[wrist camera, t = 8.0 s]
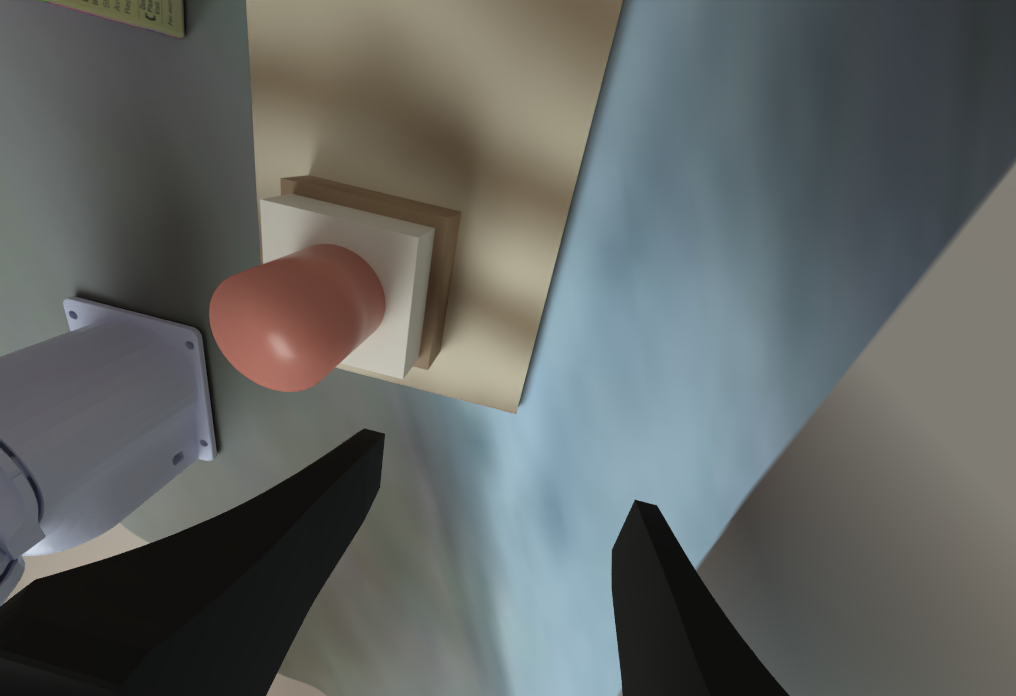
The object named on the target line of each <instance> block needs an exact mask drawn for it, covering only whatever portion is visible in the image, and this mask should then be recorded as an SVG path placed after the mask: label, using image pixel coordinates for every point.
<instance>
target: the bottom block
mask: <svg viewBox="0 0 1016 696" xmlns="http://www.w3.org/2000/svg"><path fill="white" fill-rule="evenodd" d="M280 180H281V196H282V195H288V194H295V195H299V196H304V197H308V198H312V199H316V200H320V201H324V202H328V203H333V204H337V205H341V206H345V207H349V208H353V209H358V210H362V211H366V212H370V213H374V214H378V215H382V216H387V217H391V218H395V219H399V220H403V221H407V222H411V223H416V224H420V225H424V226H428V227H432V228H435V234H434V242H433V250H432V258H431V266H430V273H429V281H428V289H427V297H426V305H425V313H424V321H423V329H422V337H421V345H420V353H419V359H418V360H417V361H416V363H415V364H414V365H413V367H417V368H421V369H425V370H428V369H429V368H430V366H431V365H432V363H433V362H434V360H435V359H436V357H437V356H438V355H439V353H440V350H441V343H442V337H443V330H444V324H445V317H446V310H447V304H448V297H449V290H450V284H451V277H452V270H453V264H454V257H455V251H456V244H457V237H458V231H459V224H460V217H461V211H457V210H452V209H448V208H444V207H440V206H436V205H431V204H427V203H423V202H419V201H415V200H410V199H406V198H402V197H398V196H394V195H389V194H385V193H381V192H377V191H373V190H369V189H364V188H360V187H356V186H352V185H348V184H343V183H339V182H335V181H331V180H327V179H322V178H318V177H314V176H310V175H305V176H295V177H286V178H280Z"/></svg>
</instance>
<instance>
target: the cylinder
mask: <svg viewBox="0 0 1016 696" xmlns="http://www.w3.org/2000/svg"><path fill="white" fill-rule="evenodd" d="M384 312H385V295H384V291H383V288H382V285H381V282H380V280H379V278H378V276H377V275H376V273H375V272H374V270H373V269H372V268H371V266H370V265H369V264H368V263H367V262H366V261H365V260H364V259H363V258H361V257H360V256H359V255H358V254H356V253H354V252H353V251H351V250H349V249H347V248H344V247H341V246H338V245H333V244H318V245H314V246H311V247H308V248H305V249H302V250H300V251H297V252H294V253H292V254H289V255H286V256H284V257H281V258H278V259H275V260H273V261H270V262H267V263H265V264H262V265H259V266H256V267H254V268H251V269H248V270H246V271H243V272H240V273H237V274H235V275H233V276H230V277H229V278H227V279H225V280H224V281H223V282H222V283H221V284H220V285H219V286H218V287H217V289H216V290H215V292H214V294H213V296H212V299H211V302H210V309H209V319H210V325H211V329H212V333H213V336H214V338H215V340H216V343H217V344H218V346H219V348H220V350H221V351H222V353H223V354H224V356H225V357H226V358H227V359H228V361H229V362H230V363H231V364H232V365H233V366H234V367H235V368H236V369H237V370H238V371H239V372H241V373H242V374H243V375H244V376H246V377H247V378H249V379H250V380H252V381H254V382H255V383H257V384H259V385H262V386H264V387H266V388H269V389H273V390H277V391H284V392H296V391H302V390H305V389H308V388H310V387H312V386H314V385H316V384H317V383H318V382H320V381H321V380H322V379H323V378H324V377H325V376H326V375H327V374H328V373H329V372H331V371H332V370H333V369H334V368H335V367H336V366H337V365H338V364H339V363H341V362H342V361H343V360H344V359H345V358H346V357H347V356H348V355H349V354H350V353H352V352H353V351H354V350H355V349H356V348H357V347H358V346H359V345H360V344H362V343H363V342H364V341H365V340H366V339H367V338H368V337H369V336H370V335H371V334H373V333H374V332H375V331H376V330H377V328H378V327H379V325H380V323H381V322H382V319H383V316H384Z"/></svg>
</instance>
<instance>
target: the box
mask: <svg viewBox="0 0 1016 696" xmlns="http://www.w3.org/2000/svg"><path fill="white" fill-rule="evenodd" d="M39 1H43V2H47V3H51V4H54V5H58V6H61V7H65V8H68V9H72V10H76V11H79V12H83V13H87V14H90V15H94V16H98V17H101V18H105V19H109V20H112V21H116V22H120V23H123V24H127V25H131V26H135V27H138V28H142V29H146V30H149V31H153V32H157V33H160V34H164V35H168V36H171V37H175V38H179V39H182V38H184V36H185V32H184V3H183V0H39Z"/></svg>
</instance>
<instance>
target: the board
mask: <svg viewBox="0 0 1016 696" xmlns="http://www.w3.org/2000/svg"><path fill="white" fill-rule="evenodd" d="M622 3H623V0H246V7H247V25H248V43H249V62H250V80H251V98H252V116H253V134H254V153H255V171H256V189H257V207H258V225H259V244H260V262H261V265H262V264H263V251H262V232H261V213H260V199H264V198H270V197H276V196H281V180H280V178H286V177H295V176H305V175H310V176H314V177H318V178H322V179H327V180H331V181H335V182H339V183H343V184H348V185H352V186H356V187H360V188H364V189H369V190H373V191H377V192H381V193H385V194H389V195H394V196H398V197H402V198H406V199H410V200H415V201H419V202H423V203H427V204H431V205H436V206H440V207H444V208H448V209H452V210H457V211H461V217H460V224H459V231H458V237H457V244H456V251H455V257H454V264H453V270H452V277H451V284H450V290H449V297H448V304H447V310H446V317H445V324H444V330H443V337H442V343H441V350H440V353H439V355H438V356H437V357H436V359H435V360H434V362H433V363H432V365H431V366H430V368H429V369H428V370H425V369H421V368H417V367H412V368H411V369H410V371H409V372H408V373H407V375H406V376H405V377H404V379H400V378H396V377H392V376H388V375H384V374H380V373H376V372H372V371H368V370H365V369H361V368H357V367H353V366H349V365H345V364H341V363H339V364H338V365H337V366H336V368H340V369H343V370H347V371H351V372H355V373H359V374H363V375H367V376H371V377H374V378H378V379H382V380H386V381H390V382H394V383H398V384H402V385H405V386H409V387H413V388H417V389H421V390H425V391H429V392H433V393H437V394H440V395H444V396H448V397H452V398H456V399H460V400H464V401H468V402H471V403H475V404H479V405H483V406H487V407H491V408H495V409H499V410H502V411H506V412H510V413H514V414H516V412H517V409H518V405H519V401H520V397H521V393H522V389H523V385H524V381H525V378H526V374H527V370H528V366H529V362H530V358H531V354H532V351H533V347H534V343H535V339H536V335H537V331H538V327H539V324H540V320H541V316H542V312H543V308H544V304H545V300H546V296H547V293H548V289H549V285H550V281H551V277H552V273H553V269H554V266H555V262H556V258H557V254H558V250H559V246H560V242H561V239H562V235H563V231H564V227H565V223H566V219H567V215H568V212H569V208H570V204H571V200H572V196H573V192H574V188H575V184H576V181H577V177H578V173H579V169H580V165H581V161H582V157H583V154H584V150H585V146H586V142H587V138H588V134H589V130H590V127H591V123H592V119H593V115H594V111H595V107H596V103H597V99H598V96H599V92H600V88H601V84H602V80H603V76H604V72H605V69H606V65H607V61H608V57H609V53H610V49H611V45H612V42H613V38H614V34H615V30H616V26H617V22H618V18H619V14H620V11H621V7H622Z"/></svg>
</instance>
